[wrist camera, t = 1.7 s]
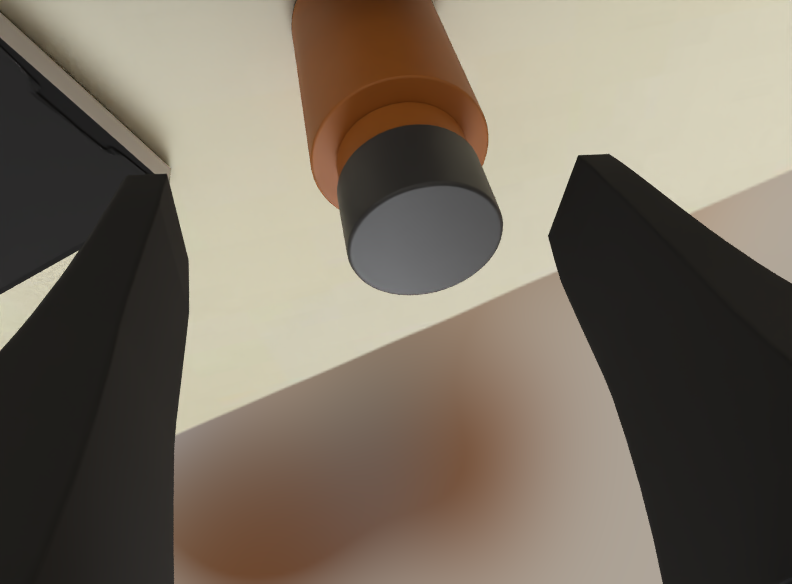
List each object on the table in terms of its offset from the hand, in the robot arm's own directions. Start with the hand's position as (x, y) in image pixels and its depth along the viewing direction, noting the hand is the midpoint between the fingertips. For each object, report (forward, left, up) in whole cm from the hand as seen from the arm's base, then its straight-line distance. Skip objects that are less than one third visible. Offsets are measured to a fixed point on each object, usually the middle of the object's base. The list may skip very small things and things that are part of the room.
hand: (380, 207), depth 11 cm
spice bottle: (-2, -1, -10) cm, 10 cm away
